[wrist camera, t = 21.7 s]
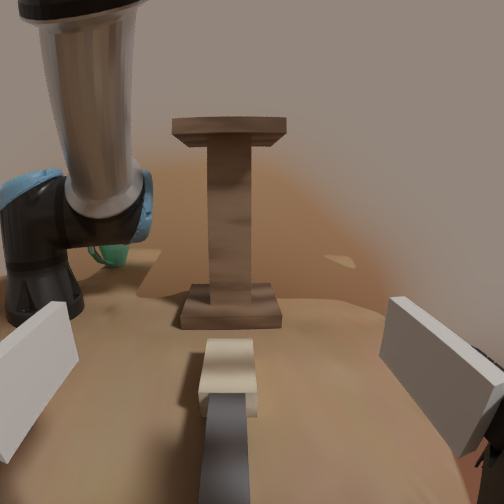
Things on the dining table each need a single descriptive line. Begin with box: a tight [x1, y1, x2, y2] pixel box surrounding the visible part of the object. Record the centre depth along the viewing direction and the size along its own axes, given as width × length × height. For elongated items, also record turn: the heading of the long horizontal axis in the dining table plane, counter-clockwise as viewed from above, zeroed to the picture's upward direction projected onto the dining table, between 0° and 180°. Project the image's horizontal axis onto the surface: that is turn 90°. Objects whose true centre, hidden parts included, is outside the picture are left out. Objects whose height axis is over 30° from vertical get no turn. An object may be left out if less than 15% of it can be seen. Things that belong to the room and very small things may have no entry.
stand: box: [172, 117, 286, 330], centre depth 47 cm, size 16×14×28 cm
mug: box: [88, 244, 129, 267], centre depth 72 cm, size 15×10×10 cm
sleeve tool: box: [198, 338, 257, 504], centre depth 24 cm, size 22×5×3 cm, turn 2°
